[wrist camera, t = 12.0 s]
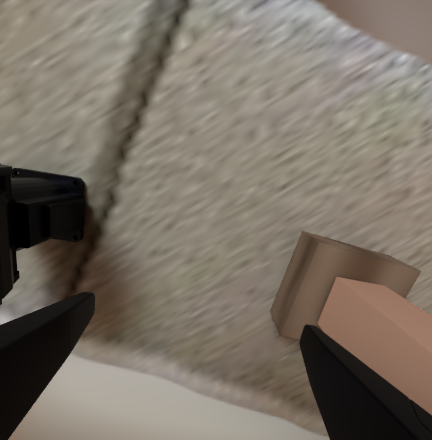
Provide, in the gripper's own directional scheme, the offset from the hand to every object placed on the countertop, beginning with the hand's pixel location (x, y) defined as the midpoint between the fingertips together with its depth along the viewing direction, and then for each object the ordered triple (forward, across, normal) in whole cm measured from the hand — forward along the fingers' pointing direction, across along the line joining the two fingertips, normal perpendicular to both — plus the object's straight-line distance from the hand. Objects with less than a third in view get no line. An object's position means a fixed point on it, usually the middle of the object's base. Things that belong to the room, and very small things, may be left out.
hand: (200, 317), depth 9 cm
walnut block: (+14, -14, +4) cm, 20 cm away
